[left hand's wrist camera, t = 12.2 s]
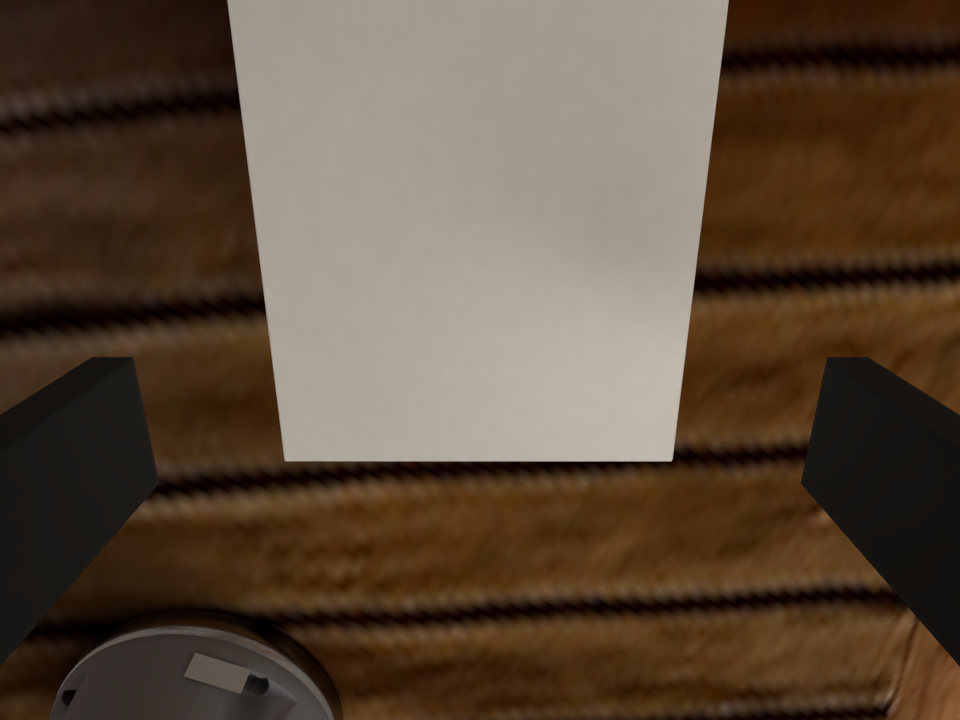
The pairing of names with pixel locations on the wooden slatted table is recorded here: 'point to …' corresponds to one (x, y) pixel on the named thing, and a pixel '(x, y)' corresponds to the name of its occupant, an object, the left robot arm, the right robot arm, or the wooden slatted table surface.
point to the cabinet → (478, 220)
